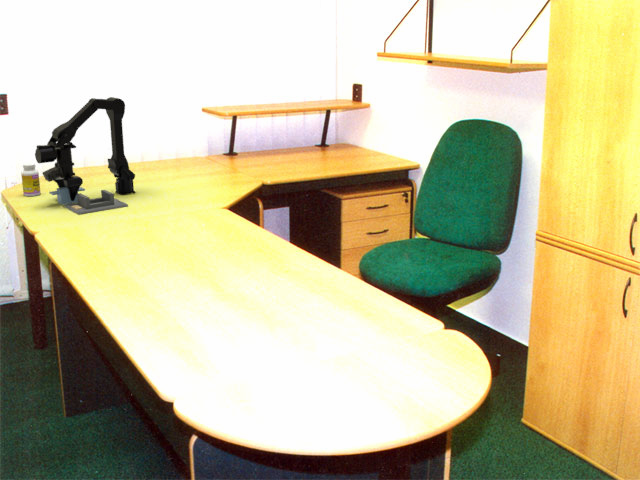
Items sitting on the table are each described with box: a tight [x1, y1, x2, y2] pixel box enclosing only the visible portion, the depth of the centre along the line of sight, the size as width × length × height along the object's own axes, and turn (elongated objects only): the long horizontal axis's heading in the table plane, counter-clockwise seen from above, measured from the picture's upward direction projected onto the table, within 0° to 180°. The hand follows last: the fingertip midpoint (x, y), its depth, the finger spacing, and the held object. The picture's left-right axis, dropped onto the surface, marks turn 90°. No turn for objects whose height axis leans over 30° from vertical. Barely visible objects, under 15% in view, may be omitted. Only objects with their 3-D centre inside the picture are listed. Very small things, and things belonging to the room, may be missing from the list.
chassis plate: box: [63, 189, 129, 216], centre depth 279 cm, size 20×14×5 cm
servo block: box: [48, 186, 86, 206], centre depth 285 cm, size 13×4×6 cm, turn 130°
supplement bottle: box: [21, 162, 41, 197], centre depth 295 cm, size 7×7×13 cm
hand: (68, 198), depth 286 cm, fingers open, 9 cm apart
